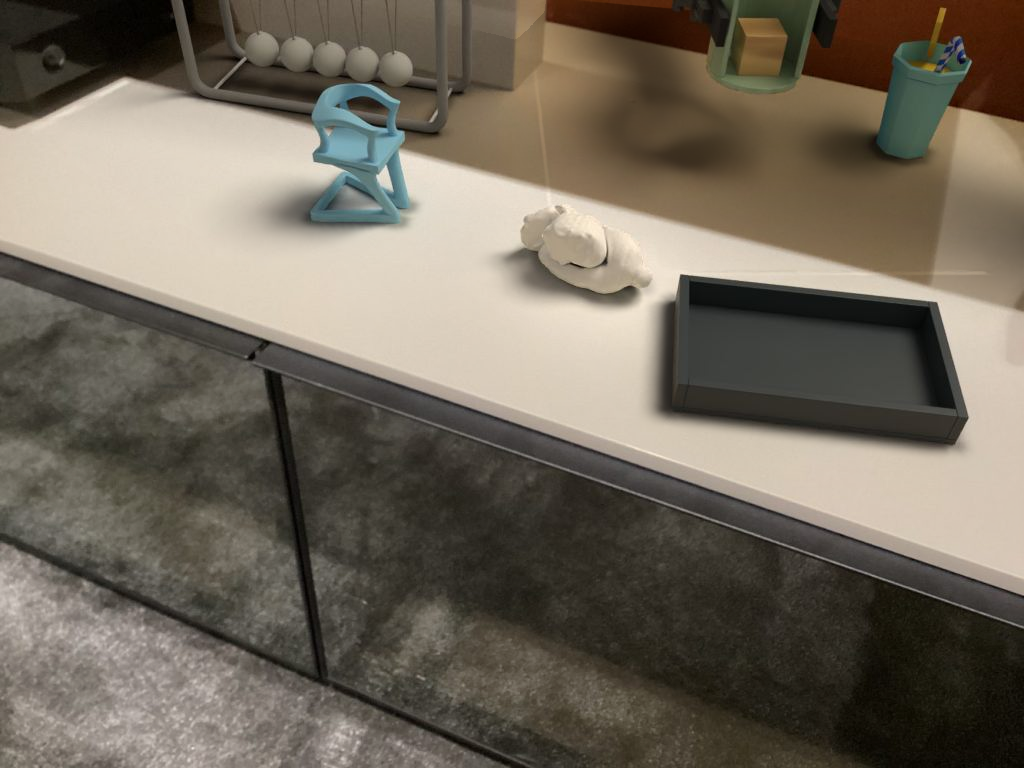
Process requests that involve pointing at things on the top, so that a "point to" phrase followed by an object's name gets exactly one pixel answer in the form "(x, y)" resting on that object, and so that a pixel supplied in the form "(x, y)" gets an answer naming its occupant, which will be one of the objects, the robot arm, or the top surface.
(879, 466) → the top surface
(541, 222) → the baby figurine
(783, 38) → the block
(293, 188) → the top surface
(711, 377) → the tray
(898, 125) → the cup
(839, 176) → the top surface
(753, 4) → the pouring cup
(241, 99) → the newton's cradle
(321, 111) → the chair
